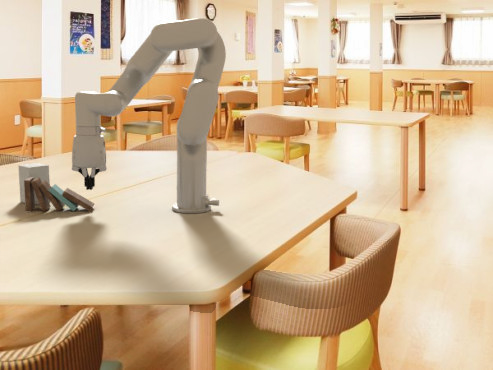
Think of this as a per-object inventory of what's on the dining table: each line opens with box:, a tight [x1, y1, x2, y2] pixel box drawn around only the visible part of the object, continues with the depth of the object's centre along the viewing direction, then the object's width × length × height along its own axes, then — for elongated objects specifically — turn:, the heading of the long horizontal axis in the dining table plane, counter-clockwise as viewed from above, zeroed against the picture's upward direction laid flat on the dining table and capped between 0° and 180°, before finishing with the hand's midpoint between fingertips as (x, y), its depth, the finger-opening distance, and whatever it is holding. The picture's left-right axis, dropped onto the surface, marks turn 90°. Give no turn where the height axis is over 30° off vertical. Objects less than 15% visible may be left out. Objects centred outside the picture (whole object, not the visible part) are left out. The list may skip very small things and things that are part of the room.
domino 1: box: [24, 177, 36, 212], centre depth 190 cm, size 2×5×10 cm, turn 5°
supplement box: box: [17, 162, 51, 206], centre depth 200 cm, size 7×7×13 cm
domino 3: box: [38, 180, 66, 212], centre depth 191 cm, size 2×5×10 cm
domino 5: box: [62, 187, 95, 212], centre depth 192 cm, size 2×5×10 cm
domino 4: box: [49, 183, 79, 212], centre depth 191 cm, size 2×5×10 cm
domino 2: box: [31, 177, 51, 212], centre depth 190 cm, size 2×5×10 cm, turn 3°
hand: (89, 188), depth 192 cm, fingers closed
